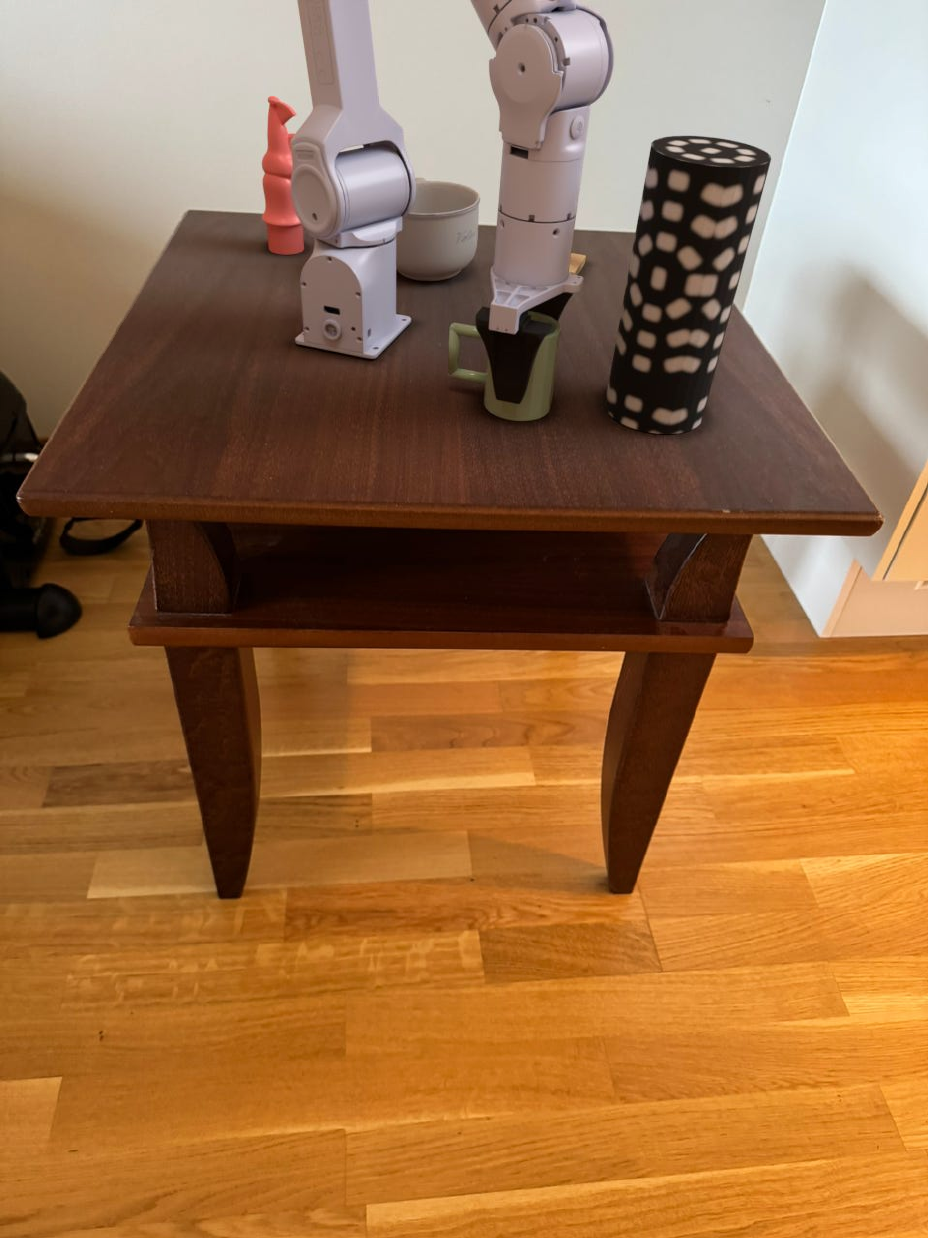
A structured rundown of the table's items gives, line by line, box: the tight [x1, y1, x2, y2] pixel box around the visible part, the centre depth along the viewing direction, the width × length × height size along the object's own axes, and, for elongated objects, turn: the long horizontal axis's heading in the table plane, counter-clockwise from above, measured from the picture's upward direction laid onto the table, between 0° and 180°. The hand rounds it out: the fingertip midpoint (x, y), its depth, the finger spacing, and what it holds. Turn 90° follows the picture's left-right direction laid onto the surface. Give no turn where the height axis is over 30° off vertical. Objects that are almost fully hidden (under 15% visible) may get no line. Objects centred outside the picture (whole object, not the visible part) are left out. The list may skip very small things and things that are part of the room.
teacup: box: [396, 177, 481, 282], centre depth 94 cm, size 14×11×8 cm
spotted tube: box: [604, 135, 772, 435], centre depth 67 cm, size 8×8×20 cm
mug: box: [447, 311, 562, 422], centre depth 72 cm, size 9×6×7 cm, turn 72°
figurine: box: [261, 95, 305, 256], centre depth 93 cm, size 5×5×15 cm
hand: (519, 384), depth 72 cm, fingers closed on mug, 5 cm apart
